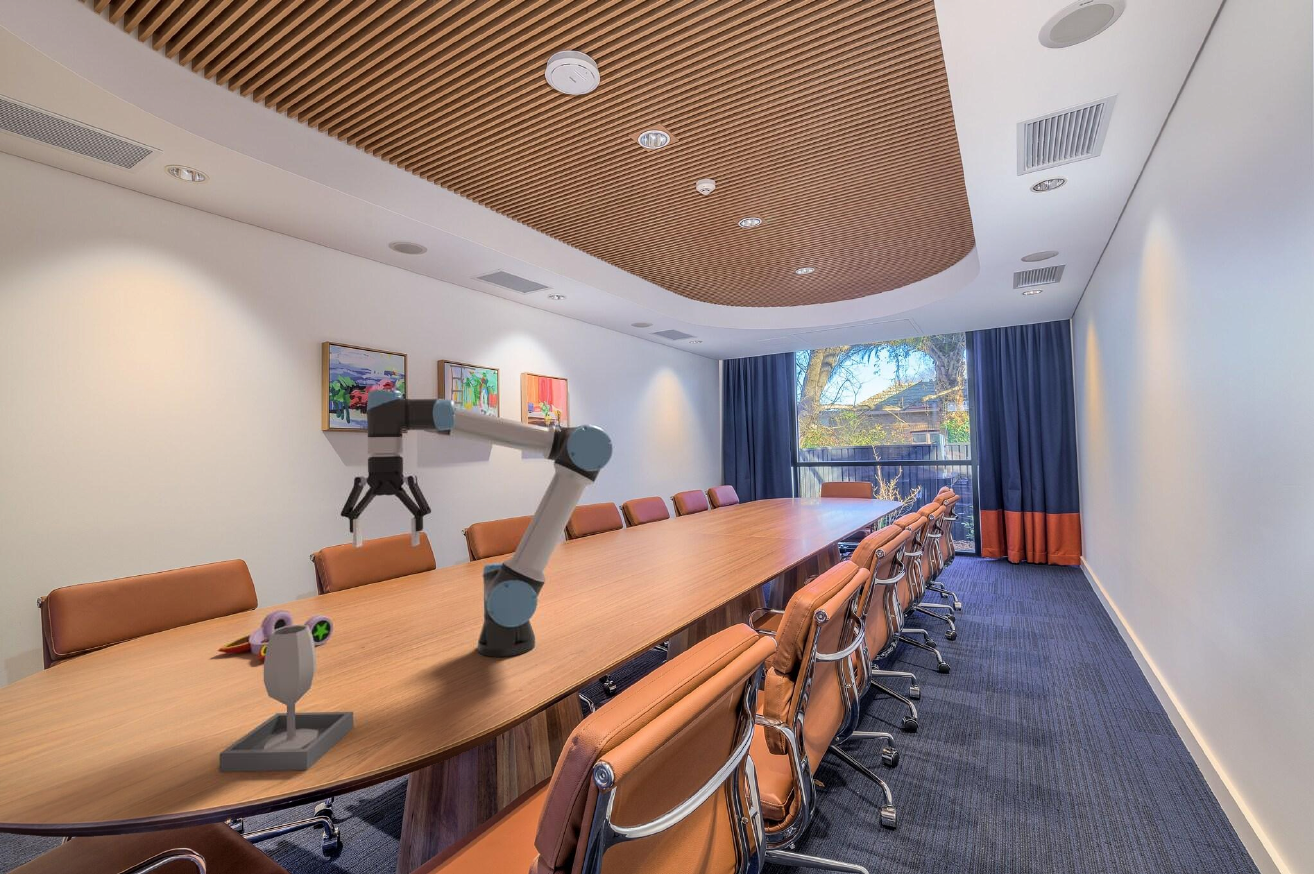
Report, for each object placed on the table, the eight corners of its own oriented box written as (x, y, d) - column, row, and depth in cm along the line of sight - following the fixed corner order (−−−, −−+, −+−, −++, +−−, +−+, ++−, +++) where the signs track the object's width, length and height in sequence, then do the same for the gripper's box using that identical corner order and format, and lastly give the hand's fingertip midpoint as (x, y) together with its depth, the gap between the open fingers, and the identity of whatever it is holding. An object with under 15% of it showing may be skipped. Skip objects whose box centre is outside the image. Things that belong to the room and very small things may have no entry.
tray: (353, 727, 115) (353, 711, 115) (307, 769, 100) (307, 751, 100) (277, 729, 115) (276, 713, 115) (219, 771, 100) (219, 753, 100)
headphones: (336, 613, 169) (267, 624, 150) (332, 648, 167) (263, 664, 149) (289, 607, 176) (218, 617, 158) (285, 641, 175) (213, 655, 157)
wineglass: (279, 734, 111) (278, 623, 112) (327, 731, 112) (326, 621, 112) (251, 758, 103) (250, 638, 103) (304, 755, 103) (302, 635, 104)
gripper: (444, 454, 142) (445, 542, 141) (341, 456, 142) (342, 544, 141) (432, 454, 134) (433, 547, 134) (323, 457, 134) (324, 549, 134)
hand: (386, 546), depth 138 cm, fingers open, 13 cm apart
